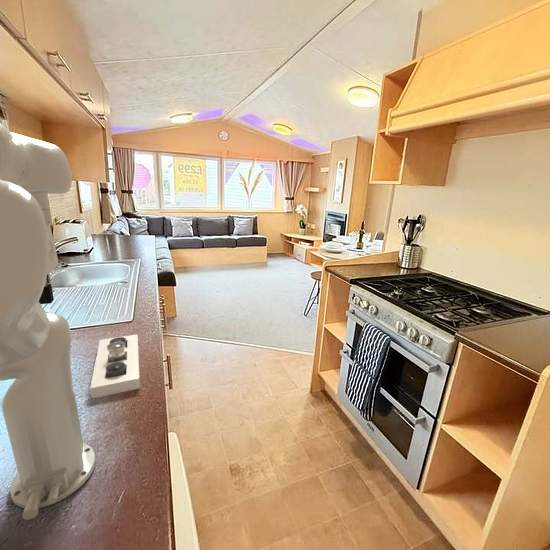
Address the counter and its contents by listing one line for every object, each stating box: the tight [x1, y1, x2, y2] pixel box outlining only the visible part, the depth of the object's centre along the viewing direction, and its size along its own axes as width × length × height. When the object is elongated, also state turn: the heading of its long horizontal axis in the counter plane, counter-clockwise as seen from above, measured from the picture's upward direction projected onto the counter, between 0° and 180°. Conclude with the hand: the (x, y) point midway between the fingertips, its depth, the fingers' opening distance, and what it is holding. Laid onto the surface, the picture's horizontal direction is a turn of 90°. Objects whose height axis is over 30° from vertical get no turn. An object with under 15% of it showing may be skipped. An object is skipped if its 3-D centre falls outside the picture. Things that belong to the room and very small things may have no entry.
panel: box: [89, 334, 141, 399], centre depth 88 cm, size 26×11×3 cm, turn 24°
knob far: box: [110, 336, 126, 348], centre depth 95 cm, size 5×5×4 cm
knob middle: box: [107, 342, 125, 362], centre depth 87 cm, size 5×5×4 cm
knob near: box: [106, 362, 126, 378], centre depth 81 cm, size 5×5×4 cm
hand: (44, 302), depth 66 cm, fingers closed
